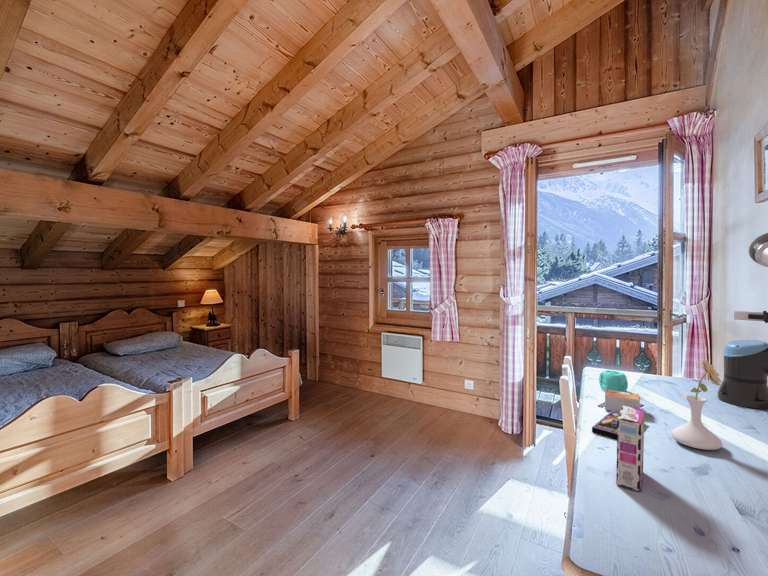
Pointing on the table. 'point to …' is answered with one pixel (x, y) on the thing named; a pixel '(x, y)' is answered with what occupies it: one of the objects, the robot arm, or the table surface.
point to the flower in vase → (698, 417)
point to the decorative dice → (613, 381)
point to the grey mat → (604, 405)
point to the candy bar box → (630, 447)
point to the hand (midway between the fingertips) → (734, 315)
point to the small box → (620, 400)
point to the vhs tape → (607, 425)
